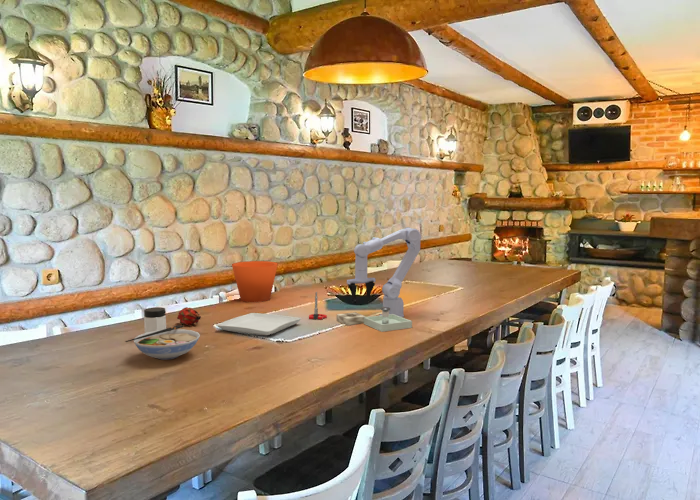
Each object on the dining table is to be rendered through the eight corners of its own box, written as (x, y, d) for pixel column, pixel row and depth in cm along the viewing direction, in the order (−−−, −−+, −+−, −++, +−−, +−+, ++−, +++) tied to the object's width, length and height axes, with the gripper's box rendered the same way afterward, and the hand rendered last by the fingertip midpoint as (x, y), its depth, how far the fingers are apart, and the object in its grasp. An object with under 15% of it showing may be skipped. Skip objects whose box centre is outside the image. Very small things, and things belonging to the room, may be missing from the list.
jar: (167, 339, 219) (166, 310, 217) (146, 342, 215) (145, 312, 214) (164, 334, 227) (163, 306, 225) (144, 336, 223) (142, 308, 222)
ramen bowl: (160, 372, 180) (159, 348, 179) (117, 360, 192) (116, 337, 191) (216, 353, 201) (215, 331, 200) (174, 344, 213) (173, 323, 212)
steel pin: (383, 321, 246) (384, 306, 245) (391, 323, 244) (392, 307, 243) (378, 323, 243) (379, 308, 242) (387, 325, 240) (387, 309, 240)
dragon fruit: (180, 325, 248) (198, 333, 242) (168, 318, 241) (187, 325, 235) (190, 309, 251) (208, 316, 245) (179, 301, 244) (197, 308, 238)
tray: (392, 320, 254) (393, 313, 253) (411, 327, 240) (412, 321, 240) (363, 323, 246) (363, 317, 246) (381, 331, 233) (381, 324, 232)
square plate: (302, 325, 245) (302, 316, 245) (268, 340, 220) (268, 330, 220) (252, 319, 256) (252, 311, 256) (214, 332, 232) (214, 323, 231)
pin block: (355, 318, 257) (355, 312, 257) (365, 322, 248) (365, 316, 248) (336, 320, 252) (336, 314, 252) (346, 325, 244) (346, 318, 243)
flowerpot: (287, 298, 305) (287, 263, 303) (257, 305, 284) (256, 268, 282) (254, 293, 319) (253, 259, 317) (222, 300, 298) (221, 264, 296)
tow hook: (311, 315, 264) (306, 319, 255) (311, 289, 263) (307, 292, 254) (328, 316, 263) (324, 320, 254) (328, 290, 262) (324, 292, 253)
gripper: (370, 267, 263) (370, 295, 264) (343, 269, 256) (343, 298, 258) (377, 269, 257) (377, 298, 258) (350, 271, 250) (350, 300, 251)
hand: (361, 298), depth 257 cm, fingers open, 7 cm apart
